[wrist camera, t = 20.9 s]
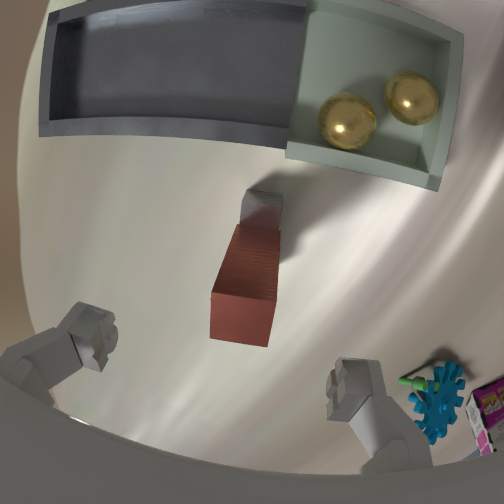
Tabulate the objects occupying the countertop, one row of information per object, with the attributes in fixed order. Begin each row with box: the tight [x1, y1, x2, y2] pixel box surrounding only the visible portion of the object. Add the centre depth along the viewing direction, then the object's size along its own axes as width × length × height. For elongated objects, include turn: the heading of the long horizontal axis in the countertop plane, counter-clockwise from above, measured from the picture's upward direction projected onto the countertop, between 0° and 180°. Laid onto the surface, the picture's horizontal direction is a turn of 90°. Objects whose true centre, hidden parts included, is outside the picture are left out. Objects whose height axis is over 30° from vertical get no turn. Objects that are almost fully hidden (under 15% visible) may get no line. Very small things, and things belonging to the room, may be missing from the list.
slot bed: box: [39, 0, 307, 150], centre depth 16 cm, size 10×18×3 cm, turn 83°
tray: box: [285, 0, 464, 192], centre depth 15 cm, size 11×10×3 cm
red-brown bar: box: [210, 190, 282, 347], centre depth 18 cm, size 6×3×10 cm, turn 174°
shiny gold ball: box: [384, 71, 439, 126], centre depth 14 cm, size 4×4×4 cm
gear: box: [398, 361, 465, 445], centre depth 27 cm, size 11×6×10 cm
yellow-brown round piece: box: [317, 92, 377, 150], centre depth 16 cm, size 4×4×4 cm
